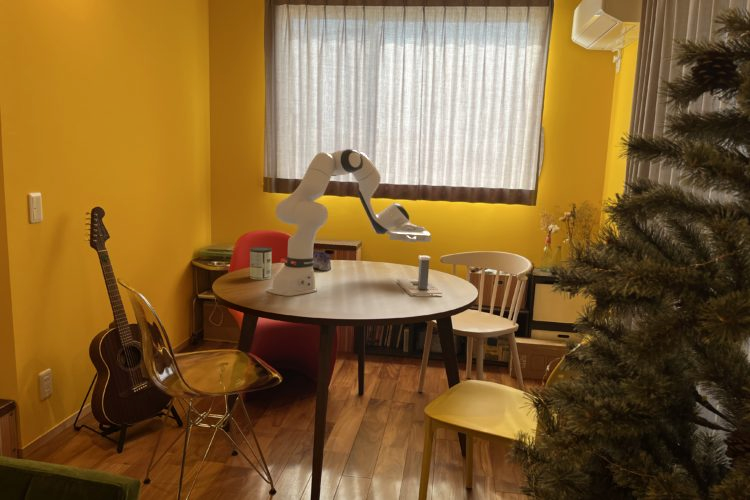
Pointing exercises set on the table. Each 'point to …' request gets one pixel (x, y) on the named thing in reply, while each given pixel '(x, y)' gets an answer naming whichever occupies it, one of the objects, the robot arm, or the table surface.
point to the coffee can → (260, 263)
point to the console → (412, 290)
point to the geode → (321, 261)
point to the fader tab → (423, 272)
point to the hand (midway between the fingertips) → (412, 240)
